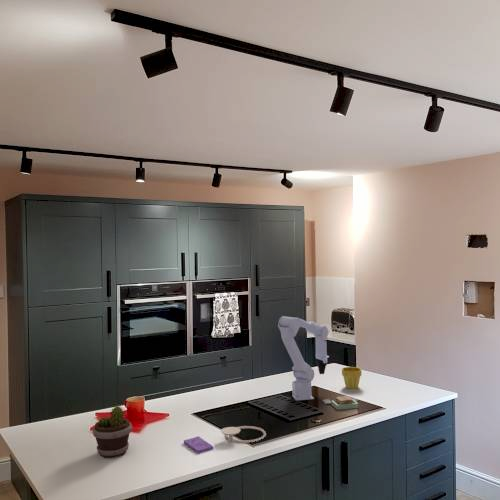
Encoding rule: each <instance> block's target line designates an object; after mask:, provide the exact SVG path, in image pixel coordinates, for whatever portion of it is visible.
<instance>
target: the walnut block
mask: <svg viewBox="0 0 500 500" xmlns="http://www.w3.org/2000/svg"><path fill="white" fill-rule="evenodd" d="M335 403H337V404H338V405H341V404H353V400H352V399H351V397H350V396H349V395H343V396H342V395H341V396H335Z"/></svg>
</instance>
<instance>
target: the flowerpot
mask: <svg viewBox="0 0 500 500" xmlns="http://www.w3.org/2000/svg"><path fill="white" fill-rule="evenodd" d="M108 413H109V415H107V414H104V415H103V414H102V417H100V418H99V419H98V421H97V422H95V424H94V426H93V428H92V435H93V437H94V438H95V440H96V443H97V446H96V451H97V453H98V455H100V457H102V458H103V457H104V459H107V458H108V459H113V458H119V457H121V456H124V455H125V454H126V453H127V451H128V450H129V446H130V443H129V438H130V433H131V432H132V431H133V426H132V423H131V422H130V421H129V419H127V418H126V417H125V414H126V412H125V410H124V408H123V407H122V406H121V405H120V404H119V403H117V404H116V406H114V407H113V408H111V410H110V411H109V412H108Z"/></svg>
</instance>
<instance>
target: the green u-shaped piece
mask: <svg viewBox="0 0 500 500" xmlns="http://www.w3.org/2000/svg"><path fill="white" fill-rule="evenodd" d="M350 398H351V399H352V400H353V404H341V405H338V404H337V403H336V401H334V400H333V399H332V400H330V399H329V398H328V399H322V400H321V402H322V403H323V404H324V405H325V406H326V405H331V406H333V408H335V410H337V411H338V410H347V409H349V410H350V409H358V408H359V403H358V400H357V399H356V398H354V397H353V396H352V397H350Z"/></svg>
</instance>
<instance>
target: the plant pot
mask: <svg viewBox="0 0 500 500" xmlns="http://www.w3.org/2000/svg"><path fill="white" fill-rule="evenodd" d="M341 375H342V377H343V381H344V385H345V388H347V389H351V390H352V389H358V388H359V384H360V379H361V377H362V369H361V368H360V367H356V366H345V367H343V368H341Z"/></svg>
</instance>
